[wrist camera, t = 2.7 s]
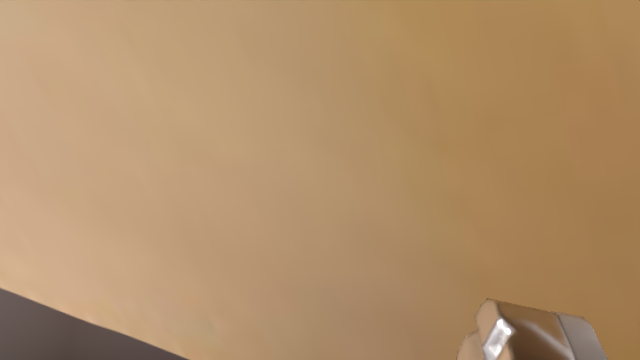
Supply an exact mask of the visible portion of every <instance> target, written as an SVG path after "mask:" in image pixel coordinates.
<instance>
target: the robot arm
mask: <svg viewBox="0 0 640 360" xmlns="http://www.w3.org/2000/svg"><path fill="white" fill-rule="evenodd" d="M475 319H476V323H477V328H478V329H477V330H475V331H473V332H472V333H470V334H468V335H466V336H465V337H464V339H463V341H462V343H461V345H460V348H459V350H458V353H457V358H456V360H608V359H607V357H606V355H605V353H604V351H603V349H602V347H601V345H600V343H599V340H598V338H597V336H596V334H595V332H594V330H593V328H592V326H591V324H590V323H589V322H588V321H587V320H586V319H585V318H584V317H580V316H575V315H570V314H565V313H559V312H554V311H550V312H549V311H545V310H541V309H536V308H531V307H526V306H522V305H517V304H512V303H508V302H503V301H498V300H493V299H489V298H487V299H486V300H485V301H484V302H483V303H482V304H481V306H480V308H479V309H478V311H477V313H476V315H475Z"/></svg>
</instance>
